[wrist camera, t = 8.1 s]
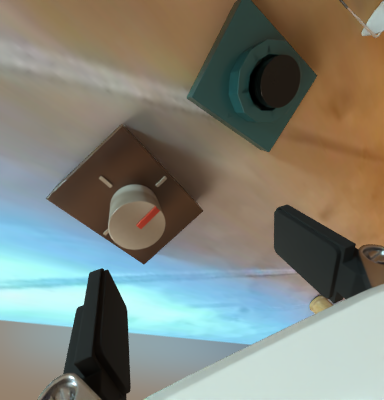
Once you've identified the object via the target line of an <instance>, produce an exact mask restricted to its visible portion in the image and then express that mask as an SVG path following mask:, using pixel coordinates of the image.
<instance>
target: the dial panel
mask: <svg viewBox="0 0 384 400" xmlns="http://www.w3.org/2000/svg"><path fill="white" fill-rule="evenodd" d="M132 184H138V185H143V186H145V187H147V188H149V189H150V190H152V191H153V192H154V194H155V195H156V197H157V200H158V202H159V205H160V207H161V209H162V212H163V214H164V217H165V223H166V224H165V230H164V232H163V234H162V236H161V237H160V239H159V240H158V241H157V242H155V243H154V244H153V245H151V246H149V247H146V248H143V249H137V250H132V249H126V248H123V247H121V246H119V245H118V244H116V243H115V242H114V241H113V239H112V238H111V236H110V234H109V230H108V222H109V212H110V202H111V199H112V197H113V195H114V194H115V193H116V192H117V191H118V190H119V189H121V188H122V187H124V186H127V185H132ZM46 199H47V200H49V201H50V202H52V203H53V204H55V205H56V206H58V207H59V208H61V209H62V210H64V211H65V212H67V213H68V214H70V215H71V216H72V217H74V218H75V219H77V220H78V221H80V222H81V223H83V224H84V225H86V226H87V227H89V228H90V229H92V230H93V231H95V232H96V233H98V234H99V235H101V236H102V237H104V238H105V239H107V240H108V241H110V242H111V243H113V244H114V245H116V246H117V247H119V248H120V249H122V250H123V251H125V252H126V253H128V254H129V255H131V256H132V257H134V258H135V259H137V260H138V261H140V262H141V263H143V264H145V263H146V262H147V261H148V260H150V259H151V258H152V257H153V256H154V255H155V254H156V253H157V252H158V251H160V250H161V249H162V248H163V247H164V246H165V245H166V244H167V243H168V242H169V241H171V240H172V239H173V238H174V237H175V236H176V235H177V234H178V233H179V232H181V231H182V230H183V229H184V228H185V227H186V226H187V225H188V224H189V223H190V222H192V221H193V220H194V219H195V218H196V217H197V216H198V215H199V214H200V213H201V212H203V210H202V209H201V208H200V206H199V205H198V204H197V203H196V201H195V200H194V199H193V198H192V197H191V196H190V195H189V194H188V193H187V192H186V191H185V190H184V189H183V188H182V187H181V186H180V185H179V183H178V182H177V181H176V180H175V179H174V178H173V177H172V176H171V175H170V174H169V173H168V172H167V171H166V170H165V169H164V168H163V167H162V166H161V164H160V163H159V162H158V161H157V160H156V159H155V158H154V157H153V156H152V155H151V154H150V153H149V152H148V151H147V150H146V149H145V148H144V147H143V145H142V144H141V143H140V142H139V141H138V140H137V139H136V138H135V137H134V136H133V135H132V134H131V133H130V132H129V131H128V130H127V129H126V128H125V126H124V125H123V124H121V125H120V126H119V127H118V128H117V129H116V130H115V131H114V132H113V133H112V134H111V135H110V136H109V137H108V138H107V139H106V140H105V141H103V142H102V143H101V144H100V145H99V146H98V147H97V148H96V149H95V150H94V151H93V152H92V153H91V154H90V155H89V156H88V157H87V158H86V159H85V160H84V161H82V162H81V163H80V164H79V165H78V166H77V167H76V168H75V169H74V170H73V171H72V172H71V173H70V174H69V175H68V176H67V177H66V178H65V179H64V180H62V181H61V182H60V183H59V184H58V185H57V186H56V187H55V188H54V189H53V191H52V192H51V193H50V194H49V196H48V197H47V198H46Z"/></svg>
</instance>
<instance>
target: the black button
mask: <svg viewBox="0 0 384 400" xmlns="http://www.w3.org/2000/svg"><path fill="white" fill-rule="evenodd" d="M299 84H300V69H299V66H298V64H297V62H296V61H295V59H294V58H293V57H291V56H289V55H283V54H282V55H278V56H275V57H272V58H269V59H266V60H264V61H262V62H261V63H259V64H258V65H257V67H256V68H255V69H254V71H253V73H252V76H251V79H250V94H251V97H252V99H253V101H254V102H255V103H256V104H257V105H258V106H260V107H263V108H280V107H283V106H285V105H287V104H288V103H289V102H290V101H291V100H292V99H293V98H294V97H295V95H296V93H297V91H298V88H299Z"/></svg>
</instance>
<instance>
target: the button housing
mask: <svg viewBox="0 0 384 400" xmlns="http://www.w3.org/2000/svg"><path fill="white" fill-rule="evenodd" d="M282 54H283V55H289V56H291V57H293V58H294V59H295V61H296V62H297V64H298V66H299V69H300V84H299V88H298V91H297V93H296V95H295V97H294V98H293V99H292V100H291V101H290V102H289V103H288V104H287V105H285V106H283V107H280V108H263V107H260V106H258V105H257V104H256V103H255V102H254V101H253V99H252V97H251V94H250V79H251V76H252V73H253V71H254V69H255V68H256V67H257V65H258V64H259V63H261V62H262V61H264V60H266V59H269V58H272V57H275V56H278V55H282ZM316 77H317V75H316V74H315V73H314V71H313V70H312V69H311V68H310V67H309V66H308V65H307V63H306V62H305V61H304V60H303V59H302V58H301V57H300V56H299V54H298V53H297V52H296V51H295V50H294V49H293V48H292V46H291V45H290V44H289V43H288V42H287V41H286V40H285V38H284V37H283V36H282V35H281V34H280V33H279V32H278V31H277V29H276V28H275V27H274V26H273V25H272V24H271V23H270V21H269V20H268V19H267V18H266V17H265V16H264V15H263V14H262V12H261V11H260V10H259V9H258V8H257V7H256V6H255V4H254V3H253V2H252V1H251V0H237V1H236V2H235V3H234V5H233V7H232V9H231V11H230V13H229V15H228V17H227V19H226V21H225V23H224V25H223V27H222V29H221V31H220V33H219V35H218V37H217V39H216V41H215V43H214V45H213V47H212V49H211V51H210V52H209V54H208V56H207V58H206V60H205V62H204V64H203V66H202V68H201V70H200V72H199V74H198V76H197V78H196V80H195V82H194V84H193V86H192V88H191V90H190V92H189V94H188V96H187V99H188V100H190V101H191V102H193V103H194V104H196V105H197V106H198V107H200V108H201V109H203V110H204V111H206V112H207V113H209V114H210V115H211V116H213V117H214V118H216V119H217V120H219V121H220V122H221V123H223V124H224V125H226V126H227V127H229V128H230V129H231V130H233V131H234V132H236V133H237V134H239V135H240V136H241V137H243V138H244V139H246V140H247V141H249V142H250V143H252V144H253V145H254V146H256V147H257V148H259V149H260V150H264V151H267V152H270V150H271V148H272V147H273V145H274V144H275V142H276V141H277V139H278V137H279V136H280V134H281V133H282V131H283V129H284V128H285V126H286V125H287V123H288V122H289V120H290V118H291V117H292V115H293V114H294V112H295V110H296V109H297V107H298V106H299V104H300V102H301V101H302V99H303V98H304V96H305V95H306V93H307V91H308V90H309V88H310V87H311V85H312V83H313V82H314V80H315V79H316Z"/></svg>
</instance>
